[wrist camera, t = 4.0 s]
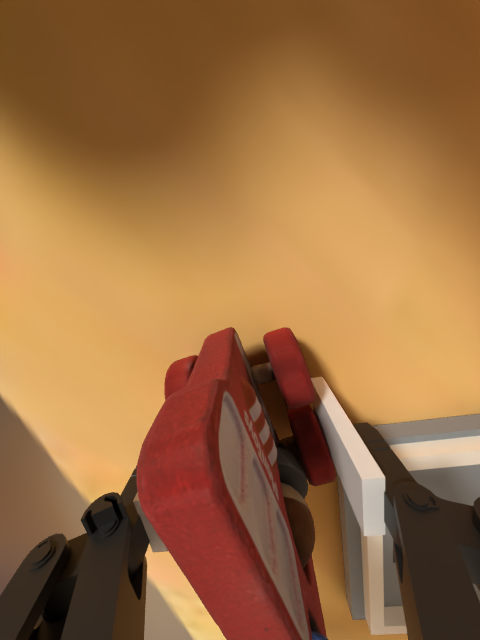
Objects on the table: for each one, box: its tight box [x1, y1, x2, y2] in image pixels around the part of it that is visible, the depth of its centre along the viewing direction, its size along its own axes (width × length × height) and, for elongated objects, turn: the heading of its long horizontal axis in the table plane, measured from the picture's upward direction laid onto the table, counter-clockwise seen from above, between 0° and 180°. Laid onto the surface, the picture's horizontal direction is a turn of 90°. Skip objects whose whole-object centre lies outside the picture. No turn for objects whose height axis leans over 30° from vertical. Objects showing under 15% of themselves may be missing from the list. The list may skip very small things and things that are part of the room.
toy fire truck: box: [137, 327, 336, 640], centre depth 10 cm, size 7×12×10 cm, turn 18°
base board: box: [336, 414, 480, 635], centre depth 16 cm, size 18×14×2 cm
